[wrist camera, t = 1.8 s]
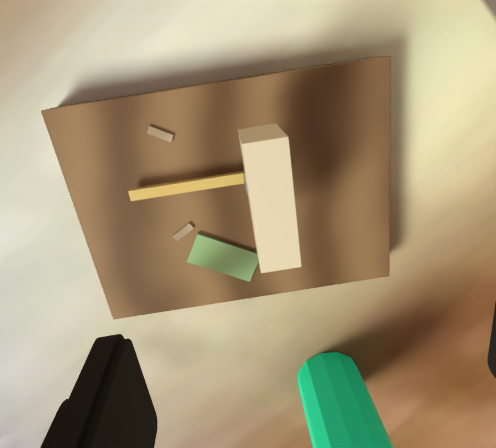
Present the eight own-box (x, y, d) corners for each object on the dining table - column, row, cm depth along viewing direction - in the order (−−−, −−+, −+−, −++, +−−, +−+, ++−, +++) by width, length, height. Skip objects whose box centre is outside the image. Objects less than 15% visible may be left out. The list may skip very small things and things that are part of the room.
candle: (284, 379, 37) (311, 515, 26) (329, 341, 35) (378, 467, 24) (326, 407, 38) (367, 546, 27) (370, 372, 37) (433, 503, 26)
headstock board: (375, 56, 26) (392, 55, 23) (377, 260, 32) (390, 278, 29) (57, 106, 26) (38, 111, 23) (121, 301, 32) (112, 321, 29)
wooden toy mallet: (271, 117, 24) (290, 136, 18) (283, 217, 27) (303, 266, 20) (117, 141, 24) (77, 169, 18) (144, 239, 27) (119, 295, 20)
